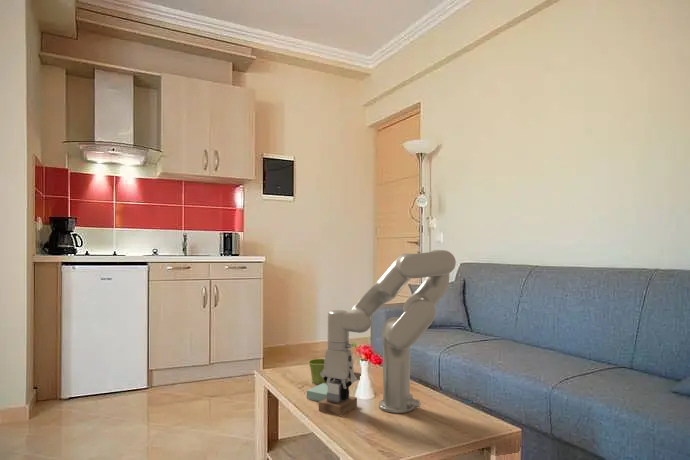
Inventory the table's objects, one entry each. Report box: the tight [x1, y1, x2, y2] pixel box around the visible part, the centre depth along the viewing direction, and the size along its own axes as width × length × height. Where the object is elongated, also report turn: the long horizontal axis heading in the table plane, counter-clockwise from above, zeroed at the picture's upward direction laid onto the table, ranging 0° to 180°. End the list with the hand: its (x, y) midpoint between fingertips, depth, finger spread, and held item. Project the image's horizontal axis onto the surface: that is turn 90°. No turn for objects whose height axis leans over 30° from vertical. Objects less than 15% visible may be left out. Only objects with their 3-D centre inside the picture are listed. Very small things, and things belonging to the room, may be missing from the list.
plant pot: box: [308, 358, 326, 385], centre depth 193 cm, size 9×9×9 cm
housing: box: [327, 379, 350, 404], centre depth 163 cm, size 5×7×7 cm
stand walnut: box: [318, 395, 358, 417], centre depth 162 cm, size 9×11×3 cm
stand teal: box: [306, 383, 328, 402], centre depth 175 cm, size 9×11×3 cm
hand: (338, 397), depth 162 cm, fingers closed on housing, 5 cm apart
